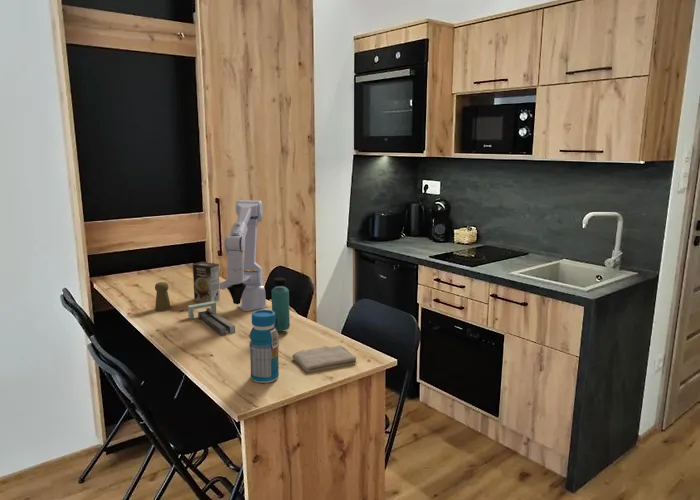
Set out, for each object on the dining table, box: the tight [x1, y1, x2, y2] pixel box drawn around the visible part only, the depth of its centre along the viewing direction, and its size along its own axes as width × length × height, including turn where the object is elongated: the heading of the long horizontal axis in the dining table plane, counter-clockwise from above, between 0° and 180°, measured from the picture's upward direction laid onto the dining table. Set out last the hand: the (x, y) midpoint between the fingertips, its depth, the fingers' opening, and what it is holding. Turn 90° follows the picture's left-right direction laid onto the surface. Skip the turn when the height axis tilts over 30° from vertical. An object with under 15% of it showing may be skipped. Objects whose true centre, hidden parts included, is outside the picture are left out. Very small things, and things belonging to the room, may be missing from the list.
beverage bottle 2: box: [271, 277, 291, 332], centre depth 191 cm, size 6×7×20 cm
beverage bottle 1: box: [248, 309, 280, 384], centre depth 154 cm, size 8×8×20 cm
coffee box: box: [192, 261, 221, 303], centre depth 226 cm, size 9×6×16 cm
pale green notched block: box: [187, 301, 217, 320], centre depth 207 cm, size 10×2×5 cm, turn 126°
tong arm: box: [205, 307, 236, 334], centre depth 199 cm, size 2×21×3 cm, turn 38°
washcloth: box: [292, 345, 357, 373], centre depth 168 cm, size 12×18×3 cm, turn 117°
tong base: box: [197, 310, 227, 336], centre depth 198 cm, size 5×22×2 cm, turn 36°
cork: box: [154, 281, 172, 312], centre depth 214 cm, size 6×6×11 cm
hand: (236, 303), depth 197 cm, fingers closed
